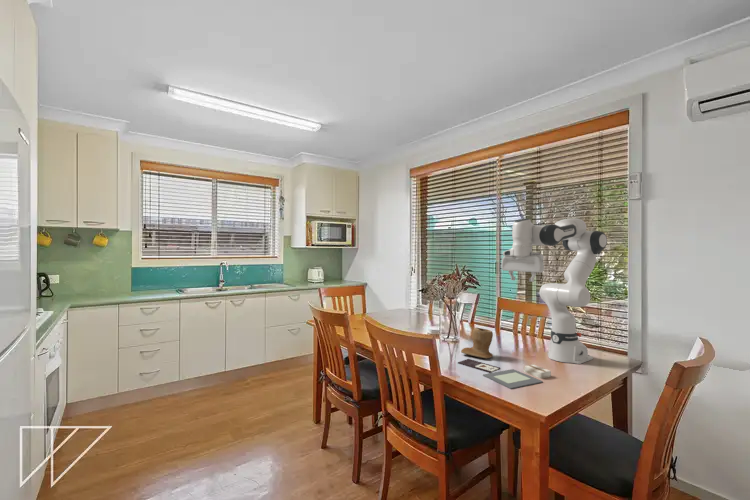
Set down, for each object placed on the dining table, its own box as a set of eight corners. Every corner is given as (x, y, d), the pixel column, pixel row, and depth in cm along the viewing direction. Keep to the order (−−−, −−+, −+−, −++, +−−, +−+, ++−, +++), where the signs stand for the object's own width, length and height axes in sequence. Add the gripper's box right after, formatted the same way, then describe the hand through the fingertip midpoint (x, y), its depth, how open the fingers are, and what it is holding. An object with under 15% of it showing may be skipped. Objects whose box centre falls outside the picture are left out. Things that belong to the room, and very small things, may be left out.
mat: (513, 370, 171) (513, 368, 171) (542, 382, 155) (542, 381, 155) (482, 375, 164) (482, 374, 164) (510, 389, 148) (510, 387, 148)
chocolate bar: (468, 358, 187) (500, 367, 173) (468, 360, 187) (500, 369, 173) (457, 362, 181) (489, 371, 167) (457, 364, 181) (489, 373, 167)
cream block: (523, 372, 169) (523, 365, 169) (533, 370, 171) (533, 364, 171) (541, 379, 160) (541, 372, 160) (550, 377, 162) (550, 370, 162)
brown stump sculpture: (497, 356, 192) (497, 328, 192) (486, 361, 184) (486, 332, 184) (471, 350, 203) (471, 324, 203) (460, 355, 194) (460, 327, 194)
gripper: (546, 252, 167) (546, 282, 167) (506, 252, 183) (506, 279, 183) (539, 252, 163) (539, 283, 164) (499, 252, 179) (499, 279, 180)
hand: (522, 281), depth 174 cm, fingers open, 8 cm apart
